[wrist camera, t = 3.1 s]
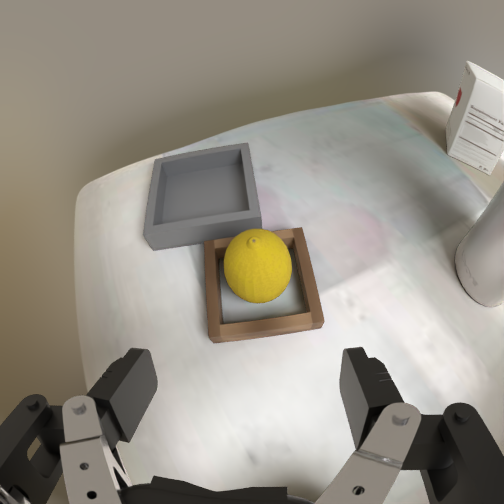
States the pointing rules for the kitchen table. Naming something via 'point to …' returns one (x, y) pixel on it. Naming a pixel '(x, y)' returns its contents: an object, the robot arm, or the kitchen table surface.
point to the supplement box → (477, 120)
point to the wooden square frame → (265, 326)
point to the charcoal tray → (201, 197)
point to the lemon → (257, 265)
